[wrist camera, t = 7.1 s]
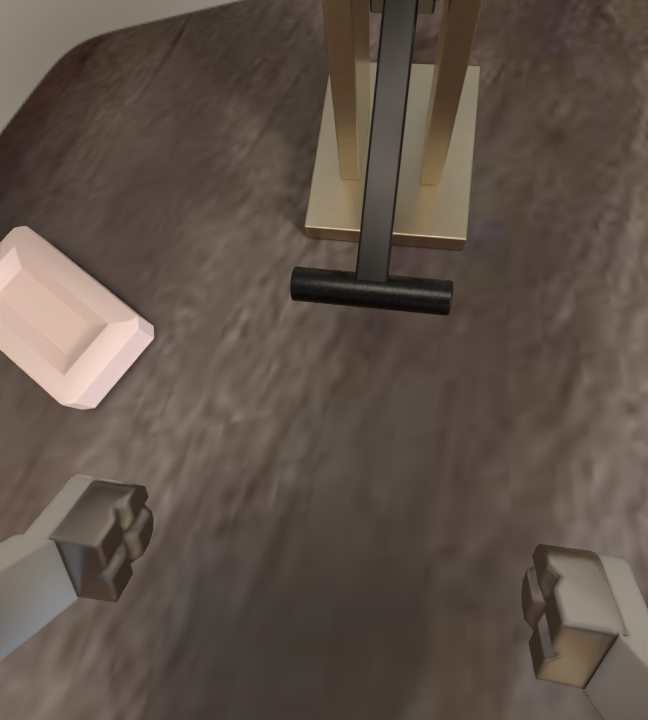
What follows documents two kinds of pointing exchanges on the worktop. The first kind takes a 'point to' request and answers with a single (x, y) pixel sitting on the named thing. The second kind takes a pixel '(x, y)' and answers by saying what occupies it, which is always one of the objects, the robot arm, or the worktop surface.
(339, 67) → the cream lever mount
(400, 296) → the lever
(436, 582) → the worktop surface
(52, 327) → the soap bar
